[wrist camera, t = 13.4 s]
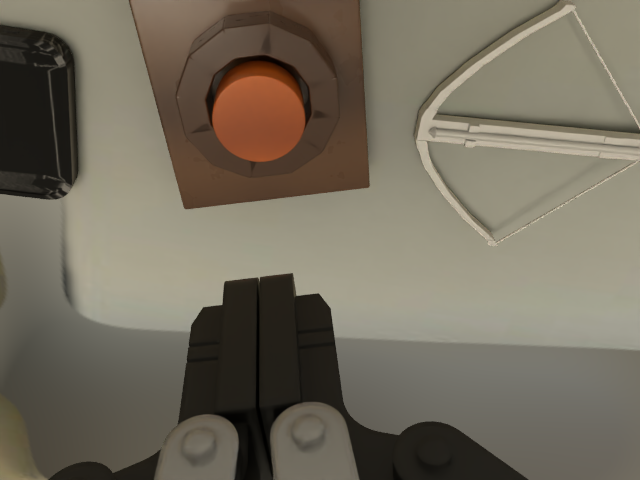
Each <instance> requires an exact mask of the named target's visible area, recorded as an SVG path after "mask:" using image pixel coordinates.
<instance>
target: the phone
mask: <svg viewBox="0 0 640 480" xmlns="http://www.w3.org/2000/svg"><path fill="white" fill-rule="evenodd" d="M77 174H78V157H77V130H76V104H75V78H74V61H73V56H72V54H71V52H70V50H69V48H68V47H67V46H66V44H65V43H64V42H63V41H62V40H60V39H59V38H57V37H55V36H54V35H51V34H48V33H45V32H39V31H33V30H26V29H20V28H14V27H8V26H1V25H0V194H7V195H14V196H23V197H32V198H40V199H59V198H62V197H64V196H65V195H67V194H68V193H69V191H70V190H71V188H72V186H73V184H74V182H75V180H76V178H77Z"/></svg>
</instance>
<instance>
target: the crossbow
mask: <svg viewBox="0 0 640 480" xmlns="http://www.w3.org/2000/svg"><path fill="white" fill-rule="evenodd" d="M575 7H576V5H575V4H573V3H572V2H571V1H563V0H560V1H559V2H558V3H557V4H556V5H555V6H554V7H553V8H551V9H549V10H547V11H546V12H544V13H542V14H540V15H538V16H537V17H535V18H533V19H531V20H530V21H528V22H526V23H524V24H522V25H521V26H519V27H517V28H515V29H513V30H512V31H510V32H509V33H507V34H506V35H504V36H503V37H502V38H500V39H499V40H497V41H496V42H494V43H493V44H491V45H490V46H489V47H487V48H486V49H484V50H483V51H481V52H480V53H478V54H477V55H476V56H474V57H473V58H471V59H470V60H469V61H467V62H466V63H465V64H464V65H463V66H461V67H460V68H459V69H458V70H457V71H456V72H454V73H453V74H452V75H451V76H450V77H448V78H447V79H446V80H445V81H444V82H443V83H441V84H440V85H439V86H438V87H437V88H436V90H435V91H434V92H433V93H432V95H431V96H430V97H429V99H428V100H427V101H426V103H424V104H423V105H422V107H421V109H420V110H419V112H418V113H419V115H418V120H417V125H416V130H415V133H414V137H415V142H416V145H417V149H418V150H419V153H420V156H421V159H422V162H423V166H424V167H425V169H426V171H427V172H428V174H429V175H430V177H431V178H432V180H433V181H434V183H435V184H436V186H437V187H438V189H439V191H440V192H441V193H442V194H443V196H444V197H445V198H446V199H447V200H448V201H449V203H450V204H451V205H452V206H453V207H454V209H455V210H456V211H457V212H458V213H459V214H460V216H461V217H462V218H463V219H464V220H465V221H466V222H467V223H468V224H469V225H471V226H472V227H473V228H474V229H475V230H476V231H477V232H478V233H479V234H481V235H482V236H483V237H484V238H485V239H486V240H487V242H488V244H489V246H497V244H498V243H499V242H501V241H503V240H505V239H506V238H508V237H510V236H511V235H513V234H515V233H517V232H518V231H520V230H522V229H524V228H525V227H527V226H529V225H531V224H532V223H534V222H536V221H537V220H539V219H541V218H543V217H544V216H546V215H548V214H550V213H551V212H553V211H555V210H556V209H558V208H560V207H562V206H563V205H565V204H567V203H569V202H570V201H572V200H574V199H575V198H577V197H579V196H581V195H582V194H584V193H586V192H588V191H589V190H591V189H593V188H594V187H596V186H598V185H600V184H601V183H603V182H605V181H607V180H608V179H610V178H612V177H613V176H615V175H617V174H619V173H620V172H622V171H624V170H626V169H627V168H629V167H631V166H632V165H634V164H636V163H638V162H639V161H640V134H635V133H625V132H615V131H604V130H594V129H583V128H573V127H563V126H552V125H542V124H531V123H521V122H511V121H500V120H490V119H480V118H469V117H459V116H448V115H438V114H436V113H437V109H438V108H439V107H440V105H441V104H442V103H443V102H444V100H445V99H446V98H447V96H448V95H449V94H450V93H451V92H452V91H453V90H455V89H456V88H457V87H458V86H459V85H461V84H462V83H463V82H464V81H465V80H467V79H468V78H469V77H470V76H471V75H473V74H474V73H475V72H476V71H477V70H478V69H480V68H481V67H482V66H484V65H485V64H486V63H488V62H489V61H491V60H492V59H494V58H495V57H497V56H498V55H500V54H501V53H503V52H504V51H505V50H507V49H508V48H510V47H511V46H513V45H514V44H516V43H517V42H519V41H520V40H522V39H523V38H524V37H526V36H528V35H530V34H531V33H533V32H535V31H537V30H539V29H540V28H542V27H544V26H546V25H548V24H549V23H551V22H553V21H555V20H557V19H558V18H560V17H562V16H564V15H566V14H567V13H570V12H571V11H572V12H573V13H574V15H575V17H576V19H577V20H578V22H579V24H580V26H581V27H582V29H583V31H584V33H585V34H586V36H587V38H588V40H589V41H590V43H591V45H592V47H593V48H594V50H595V52H596V54H597V55H598V57H599V59H600V61H601V62H602V64H603V66H604V68H605V69H606V71H607V73H608V75H609V76H610V78H611V80H612V82H613V83H614V85H615V87H616V89H617V90H618V92H619V94H620V96H621V97H622V99H623V101H624V103H625V104H626V106H627V108H628V110H629V111H630V113H631V115H632V117H633V118H634V120H635V122H636V124H637V126H638V127H639V129H640V124H639V123H638V121H637V119H636V117H635V116H634V114H633V112H632V110H631V109H630V107H629V105H628V103H627V101H626V100H625V98H624V96H623V94H622V93H621V91H620V89H619V87H618V86H617V84H616V82H615V80H614V79H613V77H612V75H611V73H610V72H609V70H608V68H607V66H606V64H605V63H604V61H603V59H602V57H601V56H600V54H599V52H598V50H597V49H596V47H595V45H594V43H593V42H592V40H591V38H590V36H589V35H588V33H587V31H586V29H585V27H584V26H583V24H582V22H581V20H580V19H579V17H578V15H577V13H576V12H575V10H574V8H575ZM427 141H435V142H446V143H456V144H464V146H465V147H473V148H474V147H475V145H478V146H488V147H499V148H510V149H521V150H531V151H542V152H553V153H563V154H574V155H585V156H596V157H599V158H609V159H628V160H637V161H635V162H633V163H631V164H630V165H628V166H626V167H625V168H623V169H621V170H619V171H618V172H616V173H614V174H613V175H611V176H609V177H607V178H606V179H604V180H602V181H600V182H599V183H597V184H595V185H594V186H592V187H590V188H588V189H587V190H585V191H583V192H582V193H580V194H578V195H576V196H575V197H573V198H571V199H569V200H568V201H566V202H564V203H563V204H561V205H559V206H557V207H556V208H554V209H552V210H550V211H549V212H547V213H545V214H544V215H542V216H540V217H538V218H537V219H535V220H533V221H532V222H530V223H528V224H526V225H525V226H523V227H521V228H519V229H518V230H516V231H514V232H513V233H511V234H509V235H507V236H506V237H504V238H502V239H500V240H499V241H497V242H495V240H494V237H493V235H492V233H491V232H490V231H489V230H488V229H487V228H486V227H484V226H483V225H482V224H481V223H480V222H479V221H478V220H477V219H476V218H475V217H473V216H472V215H471V214H470V213H469V212H468V211H467V209H466V208H465V207H464V206H463V205H462V203H461V202H460V201H459V200H458V199H457V197H456V196H455V195H454V194H453V193H452V192H451V190H450V189H449V188H448V187H447V185H446V184H445V182H444V181H443V179H442V178H441V176H440V174H439V173H438V171H437V170H436V168H435V167H434V165H433V164H432V162H431V160H430V156H429V153H428V144H427Z"/></svg>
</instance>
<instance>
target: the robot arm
mask: <svg viewBox="0 0 640 480" xmlns="http://www.w3.org/2000/svg"><path fill="white" fill-rule="evenodd" d="M273 475H274V480H528V479H527V478H525V477H524V476H522V475H521V474H520V473H518V472H517V471H515V470H514V469H513V468H511V467H510V466H508V465H507V464H506V463H504V462H503V461H501V460H500V459H498V458H497V457H496V456H494V455H493V454H492V453H490V452H489V451H487V450H486V449H484V448H483V447H482V446H480V445H479V444H478V443H476V442H475V441H473V440H472V439H471V438H469V437H468V436H466V435H465V434H464V433H462V432H461V431H459V430H458V429H456V428H454V427H452V426H450V425H448V424H444V423H441V422H421V423H417V424H415V425H412V426H410V427H408V428H407V429H405V430H404V431H403V432H402V433H401V434H400V435H394V434H388V433H382V432H377V431H373V430H371V429H368V428H366V427H364V426H362V425H360V424H359V423H358V422H356V421H355V420H354V419H353V418H352V417H351V416H350V415H349V414H348V412H347V410H346V408H345V406H344V403H343V397H342V390H341V383H340V375H339V369H338V361H337V353H336V346H335V339H334V331H333V324H332V317H331V309H330V307H329V306H328V305H327V303H326V302H325V301H324V300H323V298H322V297H321V296H320V294H319V293H318V294H310V295H302V296H296V290H295V284H294V277H293V273H290V274H282V275H273V276H265V277H260V282H259V279H258V278H249V279H241V280H233V281H225V283H224V292H223V305H219V306H211V307H203V309H202V310H201V312H200V313H199V315H198V316H197V318H196V319H195V321H194V322H193V324H192V325H191V333H190V340H189V348H188V355H187V364H186V370H185V377H184V385H183V392H182V399H181V408H180V415H179V421H178V425H177V426H176V427H175V428H174V429H173V430H172V431H171V432H170V433H169V434H168V435H167V437H166V438H165V440H164V442H163V445H162V447H161V450H159V451H158V452H157V453H155V454H154V455H153V456H151V457H149V458H147V459H145V460H143V461H141V462H139V463H136V464H134V465H132V466H129V467H127V468H124V469H122V470H120V471H117V472H115V473H112V471H111V470H110V469H109V468H108V467H107V466H105V465H103V464H100V463H97V462H81V463H77V464H73V465H71V466H68V467H66V468H64V469H62V470H61V471H59V472H58V473H56V474H55V475H53V476H52V477H51V478H50V479H49V480H273Z"/></svg>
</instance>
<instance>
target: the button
mask: <svg viewBox="0 0 640 480" xmlns="http://www.w3.org/2000/svg"><path fill="white" fill-rule="evenodd" d="M212 123H213V128H214V131H215V134H216V136H217V138H218V139H219V141H220V142H221V144H222V145H223V146H224V147H225V148H226V149H227V150H228V151H230V152H231V153H232V154H234V155H236V156H237V157H240V158H242V159H245V160H248V161H254V162H266V161H272V160H275V159H278V158H280V157H282V156H284V155H286V154H287V153H288V152H290V151H291V150H292V149H293V148H294V147H295V146H296V145H297V143H298V142H299V140H300V139H301V137H302V134H303V132H304V128H305V109H304V101H303V95H302V91H301V88H300V86H299V84H298V82H297V81H296V79H295V78H294V77H293V76H292V75H291V74H290V73H289V72H288V71H287V70H286V69H284V68H283V67H281V66H279V65H277V64H275V63H272V62H268V61H260V60H257V61H248V62H244V63H241V64H239V65H237V66H235V67H234V68H232V69H231V70H230V71H228V72H227V73H226V74H225V75H224V77H223V78H222V79H221V81H220V83H219V85H218V87H217V90H216V94H215V100H214V105H213V112H212Z"/></svg>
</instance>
